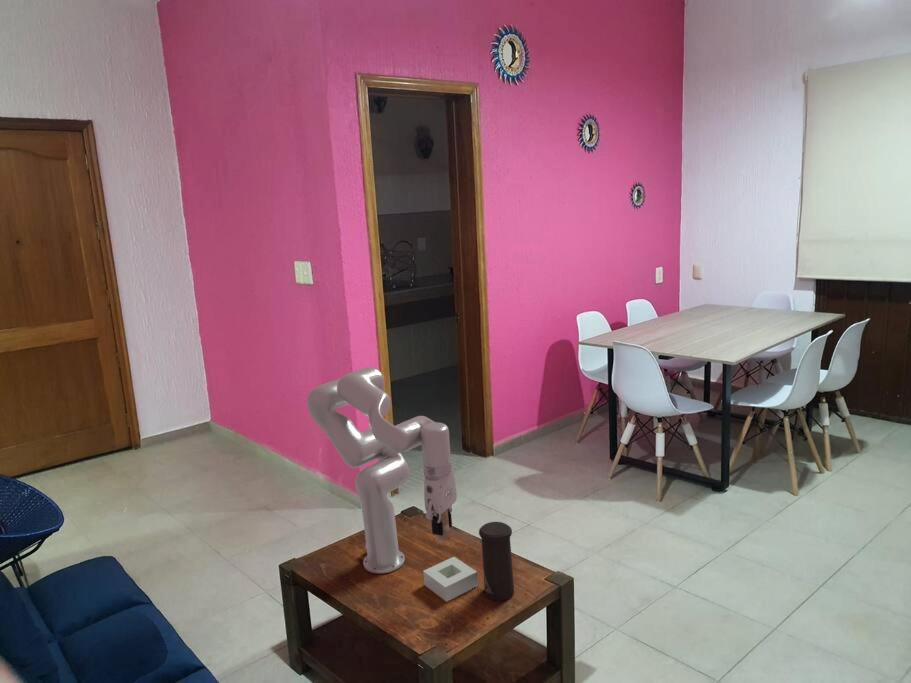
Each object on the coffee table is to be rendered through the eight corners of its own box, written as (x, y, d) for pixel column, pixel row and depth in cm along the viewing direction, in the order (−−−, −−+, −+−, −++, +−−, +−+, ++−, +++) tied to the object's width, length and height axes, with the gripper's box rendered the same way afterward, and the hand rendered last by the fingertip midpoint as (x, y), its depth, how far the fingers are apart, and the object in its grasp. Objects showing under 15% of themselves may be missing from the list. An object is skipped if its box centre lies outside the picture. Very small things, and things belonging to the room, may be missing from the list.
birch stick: (439, 542, 187) (437, 512, 185) (436, 537, 189) (433, 507, 187) (450, 539, 188) (447, 509, 186) (446, 534, 190) (443, 505, 188)
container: (495, 579, 196) (490, 516, 191) (521, 589, 190) (517, 524, 185) (477, 595, 189) (472, 529, 185) (503, 605, 183) (499, 538, 179)
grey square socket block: (424, 584, 196) (423, 570, 195) (455, 570, 202) (454, 556, 201) (446, 601, 187) (445, 587, 186) (478, 585, 193) (477, 571, 192)
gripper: (434, 483, 175) (439, 547, 179) (464, 458, 189) (468, 518, 193) (409, 479, 178) (414, 542, 183) (440, 454, 193) (445, 513, 197)
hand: (442, 529), depth 188 cm, fingers closed on birch stick, 4 cm apart
